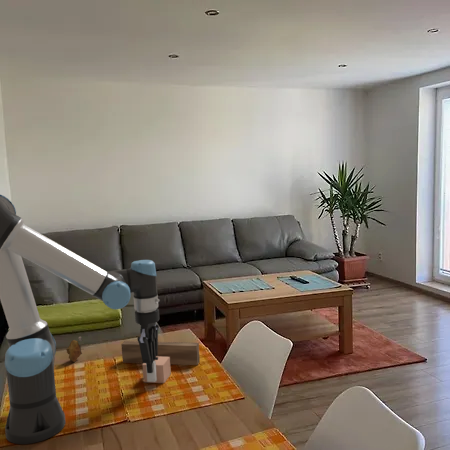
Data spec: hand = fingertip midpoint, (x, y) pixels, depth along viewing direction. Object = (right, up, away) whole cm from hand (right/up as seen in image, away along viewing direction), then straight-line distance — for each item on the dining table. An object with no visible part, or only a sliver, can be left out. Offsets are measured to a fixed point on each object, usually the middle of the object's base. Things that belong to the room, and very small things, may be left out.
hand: (152, 380), depth 151 cm
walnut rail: (0, +1, +19) cm, 19 cm away
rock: (-32, -1, +25) cm, 41 cm away
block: (+1, -1, +6) cm, 6 cm away
